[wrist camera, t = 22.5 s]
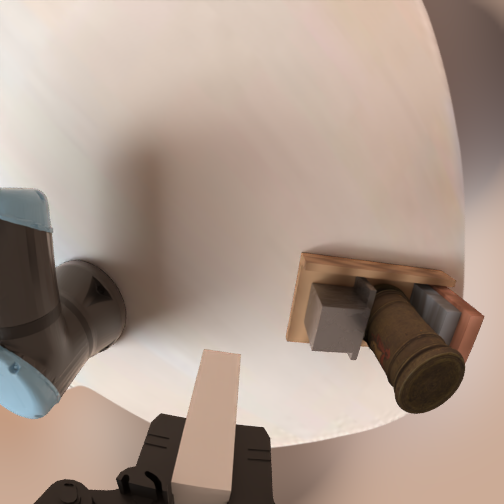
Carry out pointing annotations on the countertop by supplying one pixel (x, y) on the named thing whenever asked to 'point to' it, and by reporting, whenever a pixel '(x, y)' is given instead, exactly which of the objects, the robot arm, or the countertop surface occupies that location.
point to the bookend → (339, 316)
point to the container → (411, 353)
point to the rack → (403, 277)
